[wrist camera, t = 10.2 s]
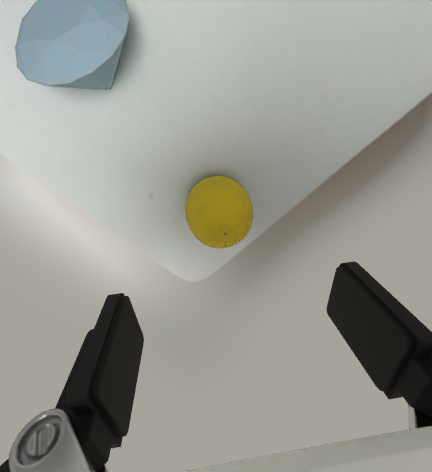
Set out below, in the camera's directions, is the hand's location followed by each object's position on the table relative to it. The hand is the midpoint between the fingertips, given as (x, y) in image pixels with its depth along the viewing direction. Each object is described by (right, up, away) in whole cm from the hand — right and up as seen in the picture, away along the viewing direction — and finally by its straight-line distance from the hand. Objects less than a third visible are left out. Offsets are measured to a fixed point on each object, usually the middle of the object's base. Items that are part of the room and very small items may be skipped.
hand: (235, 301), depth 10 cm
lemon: (-1, +7, +12) cm, 14 cm away
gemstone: (-10, +17, +6) cm, 20 cm away
